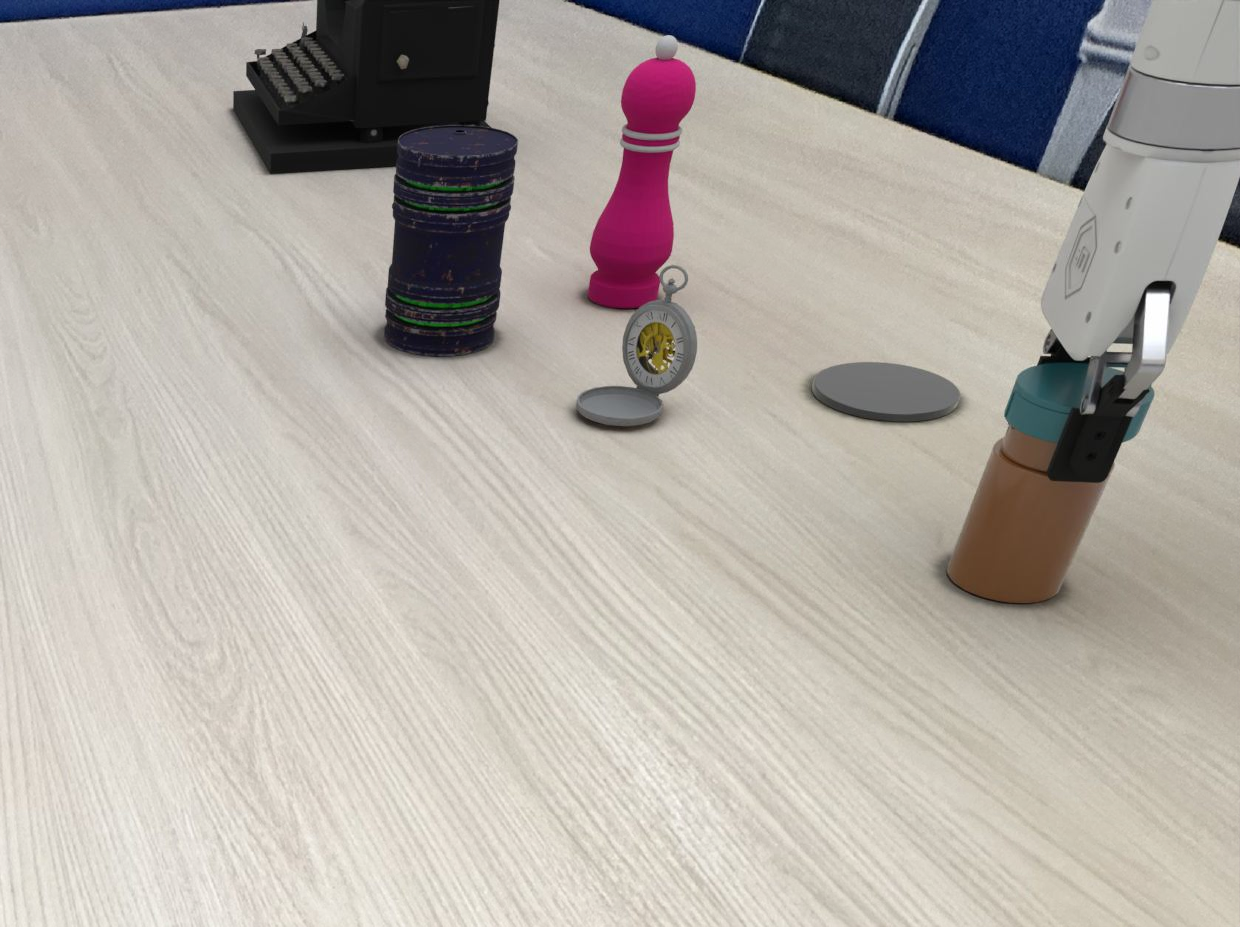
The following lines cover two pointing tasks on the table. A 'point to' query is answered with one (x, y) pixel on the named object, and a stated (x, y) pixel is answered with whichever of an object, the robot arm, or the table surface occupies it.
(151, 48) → the table surface
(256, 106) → the typewriter
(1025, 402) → the jam lid
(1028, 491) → the jam jar
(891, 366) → the coaster
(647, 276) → the pepper mill
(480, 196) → the dark blue cylinder
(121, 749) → the table surface
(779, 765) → the table surface
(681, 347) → the pocket watch
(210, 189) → the table surface
